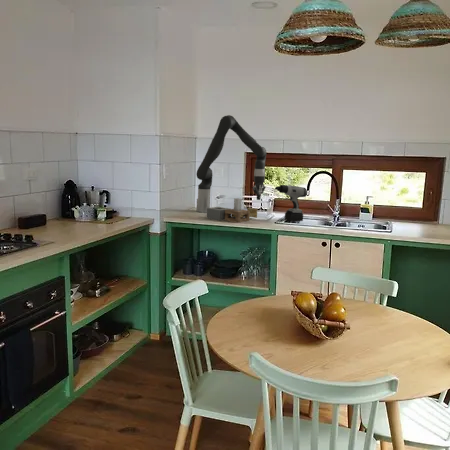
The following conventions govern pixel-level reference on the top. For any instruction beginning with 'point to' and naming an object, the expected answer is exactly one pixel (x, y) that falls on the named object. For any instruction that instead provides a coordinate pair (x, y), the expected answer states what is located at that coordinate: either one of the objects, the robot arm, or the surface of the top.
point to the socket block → (237, 215)
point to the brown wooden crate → (252, 213)
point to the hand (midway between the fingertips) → (258, 199)
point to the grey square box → (216, 213)
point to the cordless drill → (294, 194)
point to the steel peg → (237, 204)
